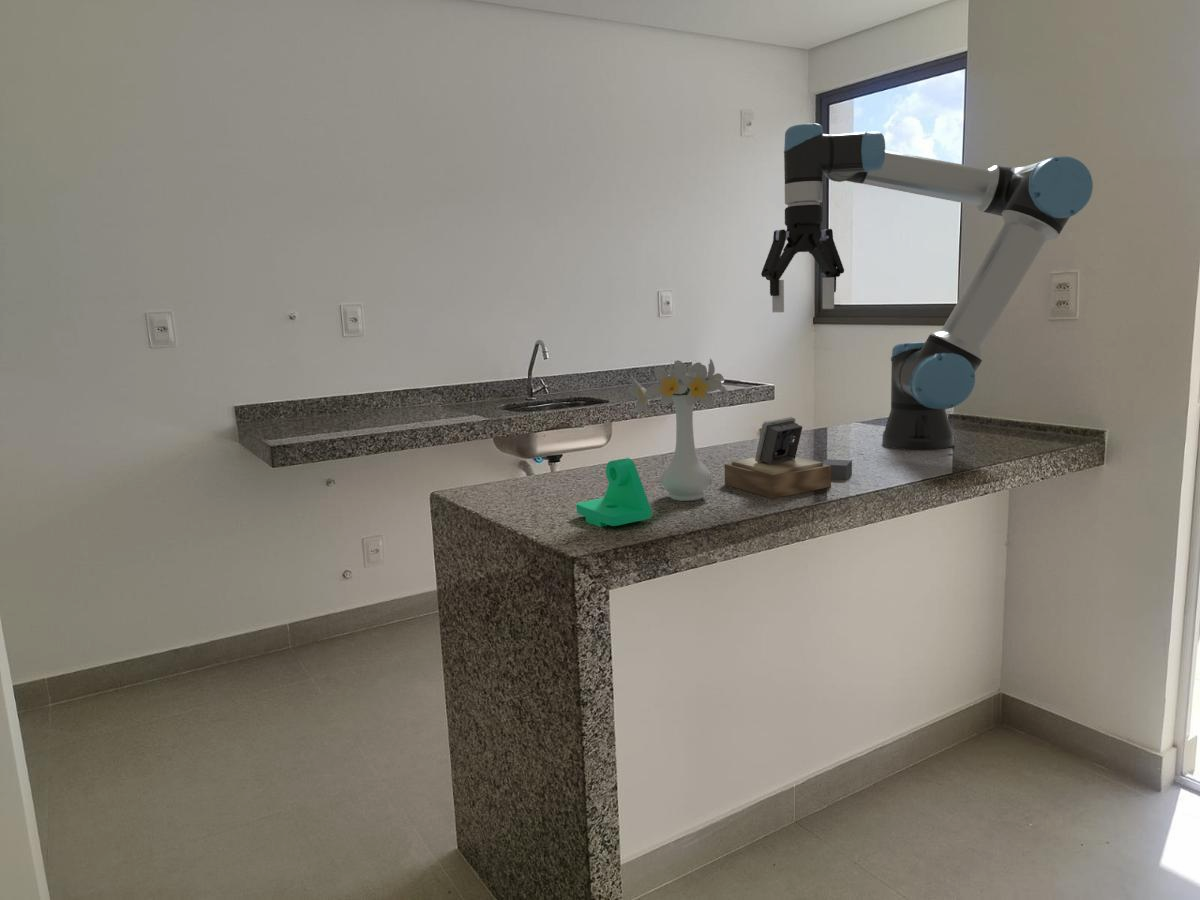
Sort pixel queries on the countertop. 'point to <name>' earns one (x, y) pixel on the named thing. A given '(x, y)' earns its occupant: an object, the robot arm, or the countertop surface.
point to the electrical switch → (778, 441)
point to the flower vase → (683, 423)
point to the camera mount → (618, 497)
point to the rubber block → (840, 468)
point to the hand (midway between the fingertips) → (803, 310)
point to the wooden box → (778, 476)
